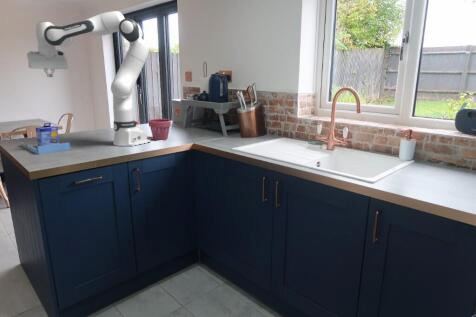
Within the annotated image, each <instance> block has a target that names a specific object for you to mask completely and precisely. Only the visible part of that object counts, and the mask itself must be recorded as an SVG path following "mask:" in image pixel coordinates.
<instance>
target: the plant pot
mask: <svg viewBox="0 0 476 317" xmlns="http://www.w3.org/2000/svg"><path fill="white" fill-rule="evenodd" d="M148 126H149V128H150V132H151V135H152V139H153V140H154V141H157V140H163V141H166V140H165V139H167V140H168V139H169V138H168V137H169V133H170V128H171V126H172V120H171V119H168V118H153V119H149V120H148Z"/></svg>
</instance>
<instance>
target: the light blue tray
mask: <svg viewBox="0 0 476 317" xmlns="http://www.w3.org/2000/svg"><path fill="white" fill-rule="evenodd" d="M19 145H20V147H22V148H24V149H26V150H29V151H30V152H32V153H34V154H36V155H43V154H44V155H45V154H50V153H57V152H58V153H59V152H63V151H64V152H65V151H70V150H71V143H70V142H62V143H61V142H59V144H54V145H46V146H38V145H37V148H36V147H34V146H32V145H29V144H25V143H24V142H21V141H20V142H19Z"/></svg>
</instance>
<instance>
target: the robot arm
mask: <svg viewBox="0 0 476 317" xmlns="http://www.w3.org/2000/svg"><path fill="white" fill-rule="evenodd" d="M114 33H120V35H121V36H122V37H123V38H124V40H126V41H127V42H129V47H128V50H127V52H126V54H125V55H124V58H123V60H122V62H121V65H120V67H119V69H118V70H117V72H116V74H115V76H114V79H113V81H112V82H111V86H110V91H111V93H112V105H113V106H112V108H113V110H112V111H113V130H114V136H113V137H114V138H113V143H112V144H113V145H112V146H116V147H117V146H118V147H119V146H120V147H136V146H140V145H139V144H141V145H145V144H149V143H148V142H150V143H152V142H151V139H148V137H147V136H148V135H147V133H146V132H145V131H144V130H143V129H141V128H140V127H138V126H137V125H140V121H138V120H134V108H133V107H134V106H133V105H134V104H133V88H134V86H135V84H136V82H137V80H138V78H139V75H140V74H141V72H142V69H143V67H144V66H145V63H146V61H147V59H148V55H149V52H150V45H149V43H148V42H147V41H146V40H144V32H143V29H142V28H141V26H140V24H138V23H137V22H136V21H135V20H134V19H132V18H125V16H124V14H122V13H121V12H120V11H118V10H113V11H107V12H102V13H100V14H97V15H94V16H92V17H88V18H86V19H84V20H81V21H77V22H73V23H69V24H66V25H62V26H60V25H59V26H57V25H55V24H53V23H52V22H51V21H39V22H37V23H36V26H35V34H36V35H35V36H36V40H37V51H32V50H31V51H28V52H27V53H26V58H27V59H28V60H27V62H28V64H27V66H28V68H30V69H38V70H39V69H43V71H44V73H45V74H46V77H47V78H54V73H55V71H56V70H68V68H69V63H68V59H67V57H66V52H64V51H61V50H58V49H57V48H56V46H58V47H63V48H65V47H69V46H71V45H72V44H73V41H74V40H73V39H74V38H75V37H79V36H82V35H90V36H94V37H97V36H98V37H100V36H106V35H107V36H108V35H111V34H114ZM49 70H50V71H51V72H50V73H49V72H48V71H49ZM144 143H145V144H144ZM135 145H136V146H135Z"/></svg>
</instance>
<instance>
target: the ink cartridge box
mask: <svg viewBox="0 0 476 317" xmlns="http://www.w3.org/2000/svg"><path fill="white" fill-rule="evenodd" d="M51 124H52V123H51V122H47V123H44V124H43V126H36V127H35V132H36V133H35V135H36V141H37V147H38V146H46V145H54V144H59V143H60V142H59V141H60V140H59V131H58V130H59V129H58V126H55V125H51Z"/></svg>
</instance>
